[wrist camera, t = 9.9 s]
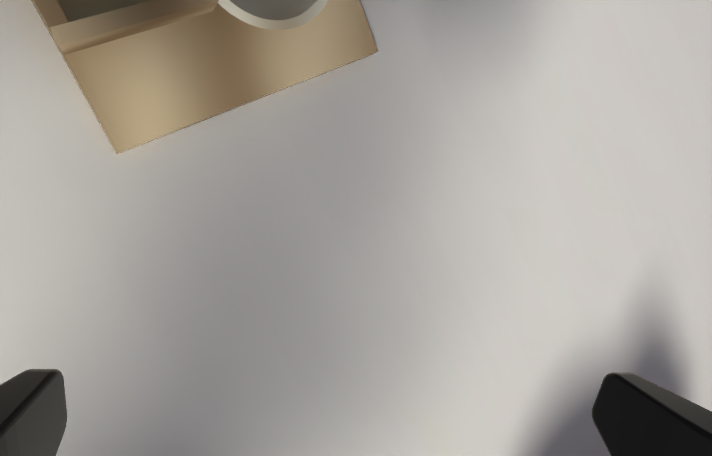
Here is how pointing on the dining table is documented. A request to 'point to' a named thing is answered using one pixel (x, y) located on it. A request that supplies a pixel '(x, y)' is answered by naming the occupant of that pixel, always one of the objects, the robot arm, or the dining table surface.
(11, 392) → the robot arm
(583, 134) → the dining table surface
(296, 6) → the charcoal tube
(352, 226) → the dining table surface
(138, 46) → the tan wooden tray
